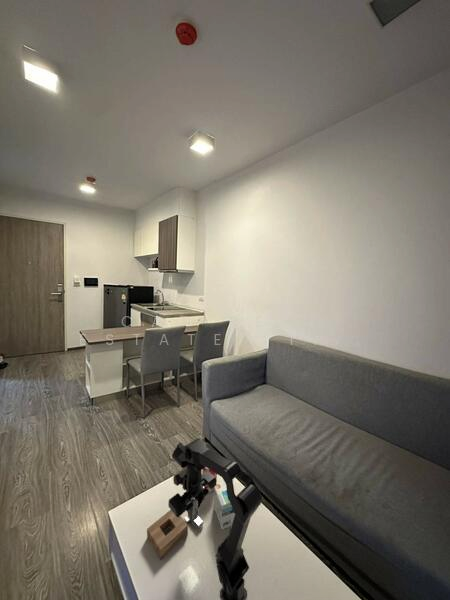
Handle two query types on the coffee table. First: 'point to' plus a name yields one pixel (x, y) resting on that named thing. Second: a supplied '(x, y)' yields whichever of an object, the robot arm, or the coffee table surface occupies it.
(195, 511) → the cylinder
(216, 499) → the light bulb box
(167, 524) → the bore block
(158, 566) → the coffee table surface
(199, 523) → the grey t-shaped block
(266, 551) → the coffee table surface
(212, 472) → the soda can
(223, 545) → the robot arm
